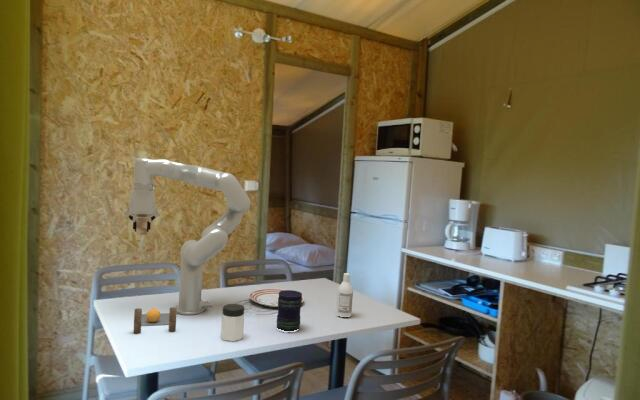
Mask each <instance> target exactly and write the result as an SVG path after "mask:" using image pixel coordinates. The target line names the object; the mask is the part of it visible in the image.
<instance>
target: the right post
mask: <svg viewBox="0 0 640 400" xmlns="http://www.w3.org/2000/svg"><path fill="white" fill-rule="evenodd" d="M176 307H177V306H175V307H174V306H172V307H169V312H168V313H169V325H168V333H176V330H177V329H176V327H177V314H178V313H177V308H176Z"/></svg>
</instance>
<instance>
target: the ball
mask: <svg viewBox="0 0 640 400" xmlns="http://www.w3.org/2000/svg"><path fill="white" fill-rule="evenodd" d="M160 313H161V311H160V310H159V309H158V308H150V309H148V310H147V311H146V313H145V314H146V318H147V320H148V321H149V322H156V321H158V320H159V318H160Z"/></svg>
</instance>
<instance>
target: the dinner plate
mask: <svg viewBox="0 0 640 400" xmlns="http://www.w3.org/2000/svg"><path fill="white" fill-rule="evenodd" d="M284 290H285V289H283V288H282V289H281V288H261V289H256V290H253V291H251V292H250V293H249V294H248V298H249V299H250V300H251V301H253V302H254V303H256V304H258V305H261V306H263V305H265V306H264V307H267V306H271V307H270V308H275V307H278V305H268V304H263V303H260V302H259V299H260V298H263V297H265V296H268V295H279V292H280V291H284ZM304 301H305V298H304V296H303V295H302V303H304Z"/></svg>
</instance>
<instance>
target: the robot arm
mask: <svg viewBox="0 0 640 400" xmlns="http://www.w3.org/2000/svg"><path fill="white" fill-rule="evenodd" d="M154 176H157V177H161V178H168V179H172V180H175V181H179V182H183V183H186V184H190V185H191V186H198V187H201V188H202V187H203V188H206V189H211V190H215V191H220V192H222V194H223V196H224V197H225V199H226V201H225V202H226V203H225V204H226V209H225V211H224V212H223V214H222V215H221V216H220V217H219V218H217V219H216V220H215V221H214V222H212V223H211V224H210V225H208V226H206V228H204V229H203V231H202V233H201V238H200V239H199V240H195V239H189V240H187V241H185V242H184V243H183V244H182V246H181V249H180V258H179V259H180V272H179V289H178V290H179V292H178V293H179V294H178V305H176V306H175V307H176V308H177V313H176V314H179V315H186V316H189V315H191V316H192V315H198V314H202V313H203V312H204V311H205V307H206V308H207V307H208V308H209V307H212V306H213V305H212V302H211V301H210V302H209V301H208V300H207V301H203V299H202V292H203V291H202V289H203V274H204V273H203V271H204V264H205V263H207V262H208V261H209V260H211V259H212V258H213V257H214V256H215V255H217V254H218V253H219V252H221V251H222V250H223V249H224V248H225V246H226V245H227V243H228V239H229V238H228V237H229V235H230V234H231V233H232V232H233V231H234V230H236V229H237V228H238V227H239V225H240V224H241V223H242V220H243V216H244V213H246V212H248V211H249V209H250V208H251V200H250V198H249V195H248V194H247V192H246V191H245V189H244V188H243V187H242V186H241V184H240V182H239V181H238V179H237V178H236V176H234V174H232V173H230V172H224V171H219V170H217V169H211V168H208V167H204V166H200V165H193V164H185V163H180V162H176V161H175V162H174V161H171V160H169V159H165V158H159V159H157V158H156V159H151V158H145V157H137V158H135V159H134V166H133V189H132V190H131V192H130V196H129V207H128V208H127V209H126V210H125V212H124V214H123V215H124V216H125V217H126V218H129V219H130V221H132V230H134V232H135V233H136V225H137V215H147V233H149V230H151V223H152V222H153V221H154V220H155V219H157V218H158V217H160V215H161V214H160V212H159V210H158V209H157V207H156V192H155V191H154V190H156V189H157V185H155V184H154Z"/></svg>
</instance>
